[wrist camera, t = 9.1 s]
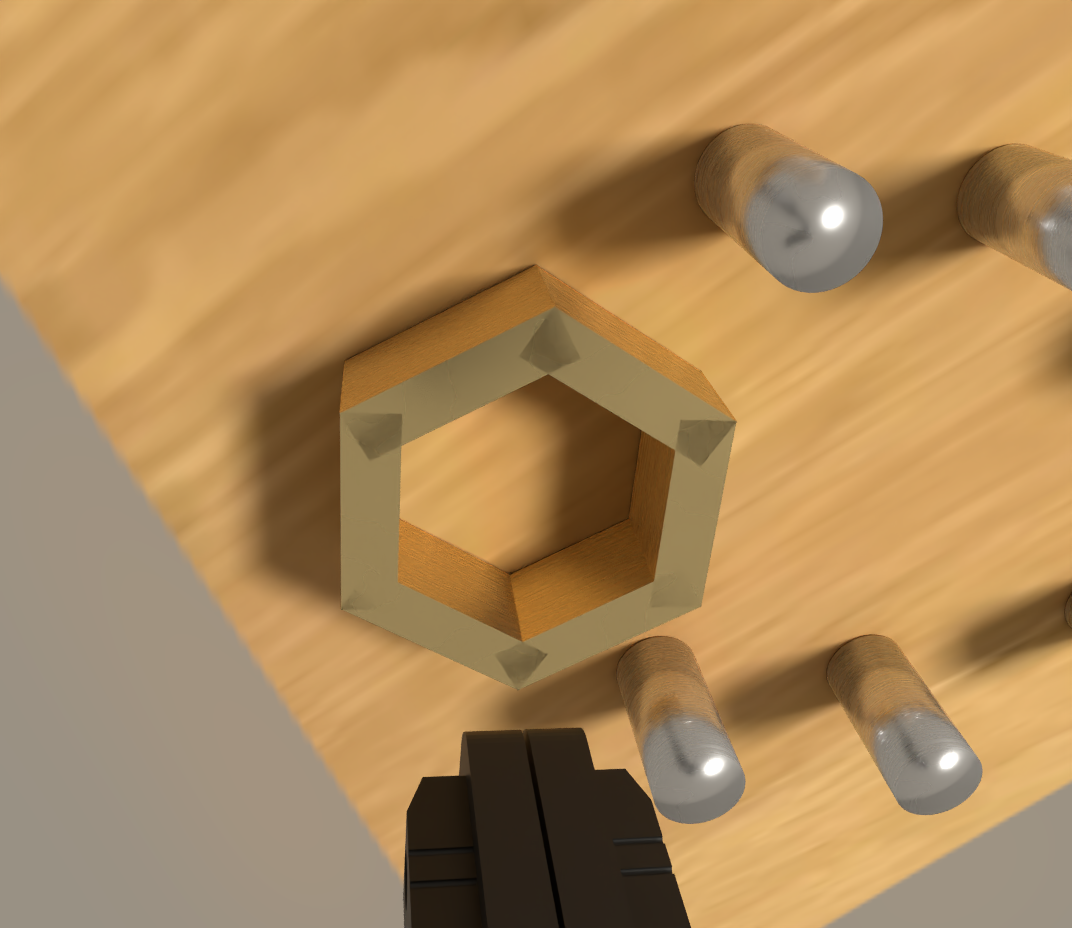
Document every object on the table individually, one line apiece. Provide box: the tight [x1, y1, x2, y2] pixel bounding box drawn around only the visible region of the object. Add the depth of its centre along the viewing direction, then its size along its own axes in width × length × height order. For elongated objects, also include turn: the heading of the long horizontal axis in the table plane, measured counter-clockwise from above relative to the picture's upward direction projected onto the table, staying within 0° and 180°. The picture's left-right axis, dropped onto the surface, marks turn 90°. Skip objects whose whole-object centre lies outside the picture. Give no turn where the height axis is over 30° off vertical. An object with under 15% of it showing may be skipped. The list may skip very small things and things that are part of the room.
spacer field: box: [616, 124, 1072, 824], centre depth 22 cm, size 14×14×4 cm
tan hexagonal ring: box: [339, 265, 737, 690], centre depth 21 cm, size 7×9×2 cm
